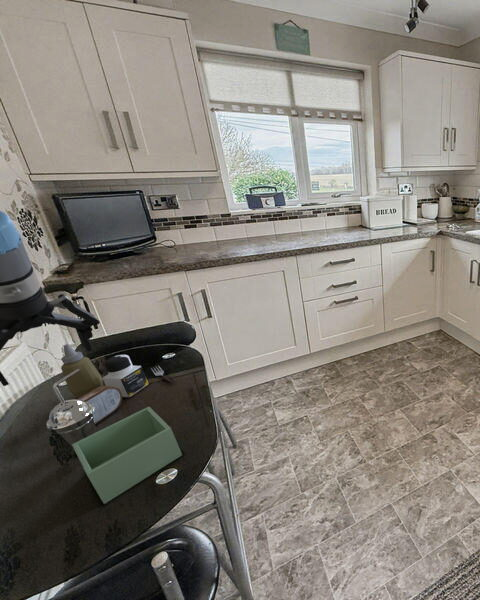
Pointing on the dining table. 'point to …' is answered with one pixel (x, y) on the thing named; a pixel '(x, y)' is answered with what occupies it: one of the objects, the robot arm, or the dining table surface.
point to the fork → (161, 374)
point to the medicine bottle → (124, 375)
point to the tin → (103, 401)
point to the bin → (126, 452)
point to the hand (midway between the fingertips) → (48, 363)
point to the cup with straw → (71, 417)
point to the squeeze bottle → (84, 378)
